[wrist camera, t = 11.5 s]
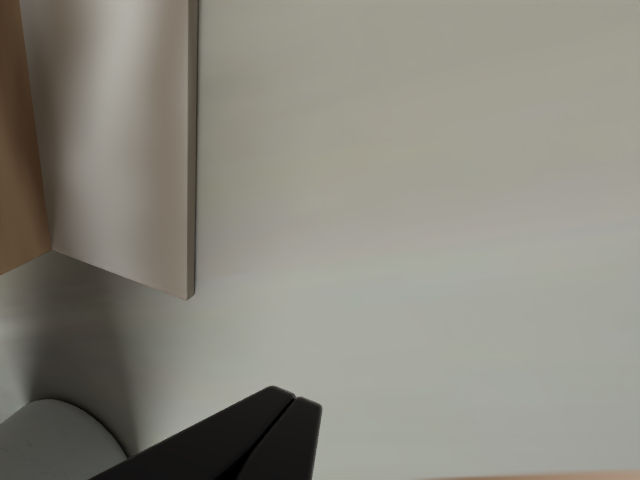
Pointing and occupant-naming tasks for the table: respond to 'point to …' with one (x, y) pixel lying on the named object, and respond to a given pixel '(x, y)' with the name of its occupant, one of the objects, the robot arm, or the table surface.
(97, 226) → the console
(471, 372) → the table surface
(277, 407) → the robot arm
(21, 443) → the water bottle
